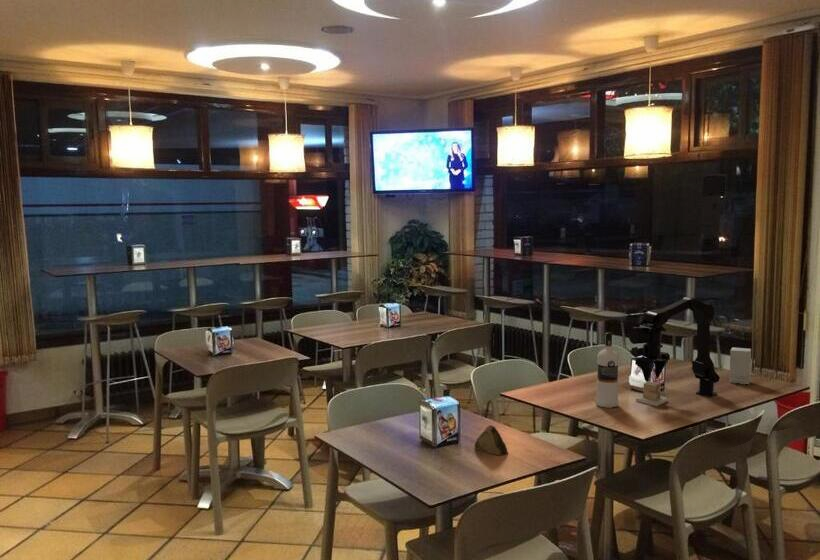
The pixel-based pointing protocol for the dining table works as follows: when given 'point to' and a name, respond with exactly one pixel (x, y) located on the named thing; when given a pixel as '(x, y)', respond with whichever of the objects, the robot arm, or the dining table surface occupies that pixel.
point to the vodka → (607, 375)
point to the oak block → (651, 390)
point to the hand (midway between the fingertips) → (651, 379)
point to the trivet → (651, 402)
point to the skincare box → (740, 365)
